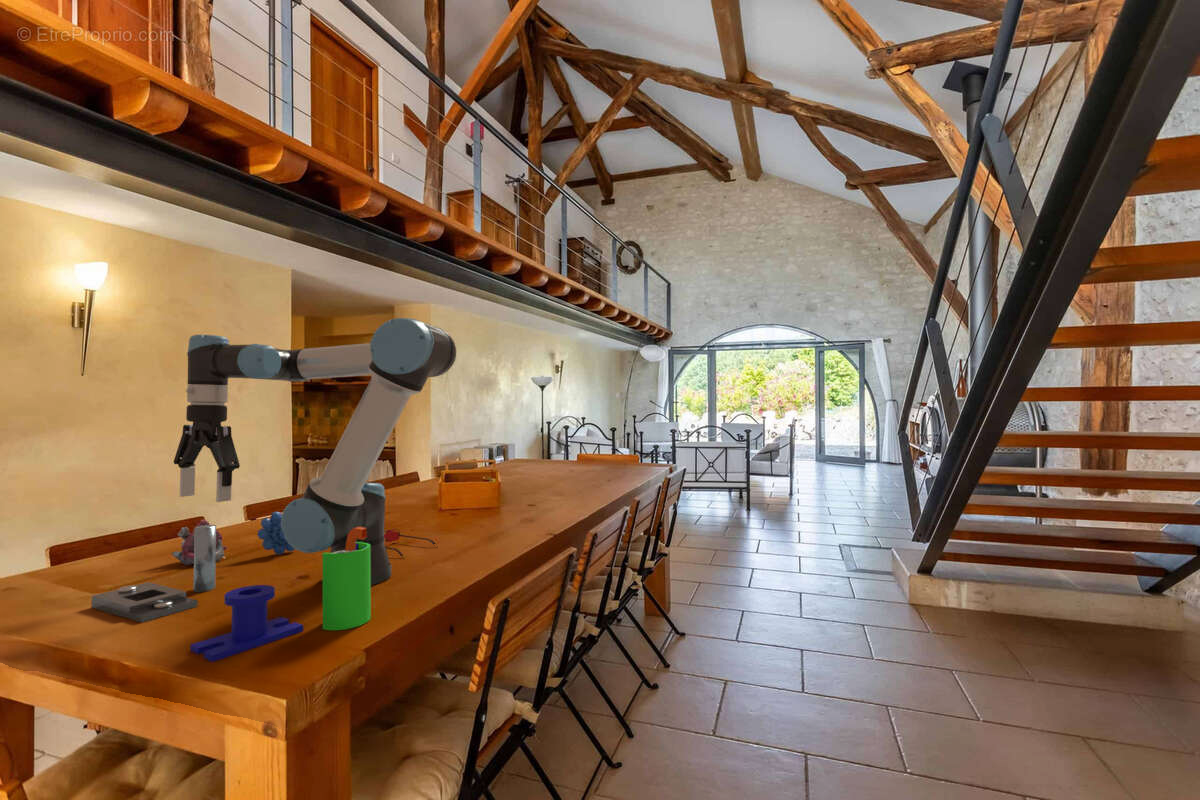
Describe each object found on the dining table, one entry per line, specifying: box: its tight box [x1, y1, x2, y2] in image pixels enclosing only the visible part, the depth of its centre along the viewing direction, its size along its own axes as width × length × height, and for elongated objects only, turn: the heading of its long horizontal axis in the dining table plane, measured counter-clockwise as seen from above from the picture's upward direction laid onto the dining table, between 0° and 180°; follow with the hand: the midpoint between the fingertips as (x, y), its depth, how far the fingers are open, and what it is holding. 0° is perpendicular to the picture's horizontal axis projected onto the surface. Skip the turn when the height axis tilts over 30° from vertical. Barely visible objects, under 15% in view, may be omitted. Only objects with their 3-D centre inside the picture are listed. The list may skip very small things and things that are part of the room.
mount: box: [190, 584, 304, 663], centre depth 99 cm, size 15×8×9 cm, turn 148°
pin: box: [192, 524, 217, 593], centre depth 126 cm, size 4×4×14 cm
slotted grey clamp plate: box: [91, 581, 199, 623], centre depth 115 cm, size 18×10×3 cm, turn 65°
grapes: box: [256, 511, 296, 555], centre depth 156 cm, size 12×7×12 cm, turn 141°
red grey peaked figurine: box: [171, 519, 228, 566], centre depth 149 cm, size 11×11×12 cm
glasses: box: [384, 528, 436, 556], centre depth 162 cm, size 14×16×5 cm
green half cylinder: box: [322, 527, 372, 631], centre depth 108 cm, size 9×8×18 cm
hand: (204, 498), depth 126 cm, fingers open, 13 cm apart
